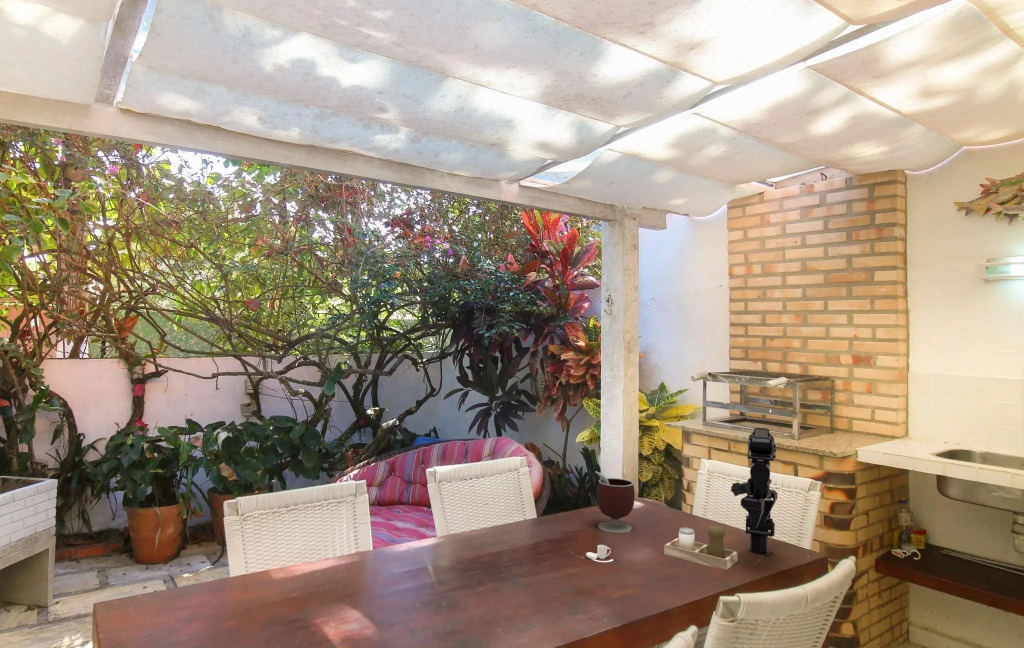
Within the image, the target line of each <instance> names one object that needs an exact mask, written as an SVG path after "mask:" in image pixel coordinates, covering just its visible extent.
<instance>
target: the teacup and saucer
mask: <svg viewBox="0 0 1024 648" xmlns="http://www.w3.org/2000/svg"><path fill="white" fill-rule="evenodd" d="M608 550H609V552H608ZM611 551H612V550H611V548H610V547H608V546H607V545H605V544H599V545H597V553H594V552H592V551H591V552H590V551H589V552H586V553H585V555H586V557H587V558H588V559H590V560H592V561H594V562H599V563H611V562H613V561H615V558H613V557H610V559H609V560H605V559H606V558H607V557H608V556H609V555H610V553H611ZM597 559H600V560H597Z"/></svg>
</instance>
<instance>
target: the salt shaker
mask: <svg viewBox="0 0 1024 648" xmlns="http://www.w3.org/2000/svg"><path fill="white" fill-rule="evenodd" d="M695 535H696V534H695V530H694V528H690V527H679V530H678V538H679V543H678V548H682V549H686V550H690V551H694V542H695Z"/></svg>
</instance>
